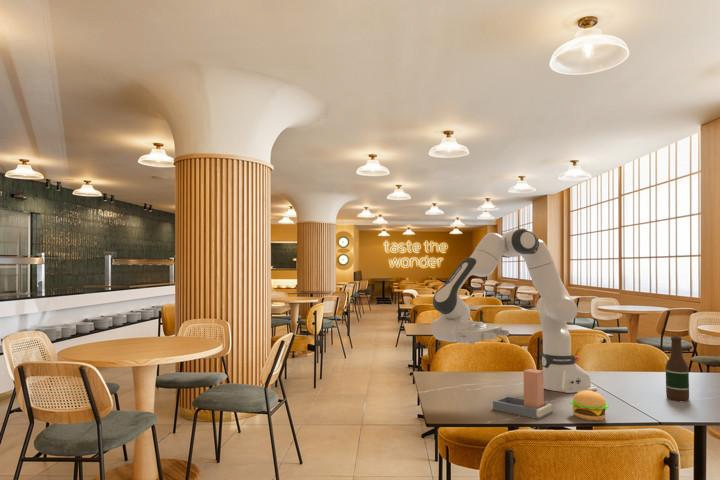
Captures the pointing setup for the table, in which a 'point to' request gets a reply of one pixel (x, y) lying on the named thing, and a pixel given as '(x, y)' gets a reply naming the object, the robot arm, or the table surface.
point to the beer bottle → (677, 373)
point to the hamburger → (589, 405)
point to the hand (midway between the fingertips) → (502, 334)
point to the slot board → (521, 407)
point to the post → (533, 388)
